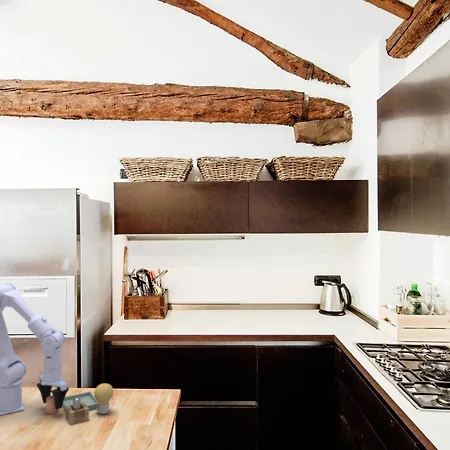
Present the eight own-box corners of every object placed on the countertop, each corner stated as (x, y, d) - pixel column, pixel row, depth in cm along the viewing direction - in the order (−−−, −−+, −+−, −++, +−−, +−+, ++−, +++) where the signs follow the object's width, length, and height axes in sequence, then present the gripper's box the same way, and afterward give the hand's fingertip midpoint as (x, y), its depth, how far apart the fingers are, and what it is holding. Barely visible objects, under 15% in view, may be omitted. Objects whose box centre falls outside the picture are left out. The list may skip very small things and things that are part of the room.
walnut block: (65, 417, 141) (65, 406, 141) (83, 413, 144) (83, 401, 144) (70, 425, 136) (70, 413, 136) (88, 420, 139) (88, 408, 139)
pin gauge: (71, 418, 140) (71, 398, 140) (78, 416, 142) (78, 396, 142) (74, 421, 139) (74, 400, 138) (81, 419, 140) (81, 398, 140)
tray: (60, 402, 152) (60, 397, 152) (90, 395, 159) (90, 391, 159) (68, 415, 143) (68, 410, 142) (100, 408, 149) (100, 403, 149)
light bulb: (114, 408, 149) (115, 380, 148) (110, 416, 142) (110, 387, 142) (96, 408, 148) (97, 380, 148) (91, 416, 142) (92, 387, 142)
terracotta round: (45, 411, 146) (45, 396, 146) (56, 408, 148) (56, 394, 148) (47, 415, 143) (47, 400, 142) (59, 412, 145) (59, 397, 145)
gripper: (30, 365, 146) (30, 403, 146) (53, 375, 138) (53, 415, 138) (49, 360, 152) (49, 397, 152) (72, 369, 143) (72, 408, 143)
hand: (52, 405), depth 145 cm, fingers open, 7 cm apart
